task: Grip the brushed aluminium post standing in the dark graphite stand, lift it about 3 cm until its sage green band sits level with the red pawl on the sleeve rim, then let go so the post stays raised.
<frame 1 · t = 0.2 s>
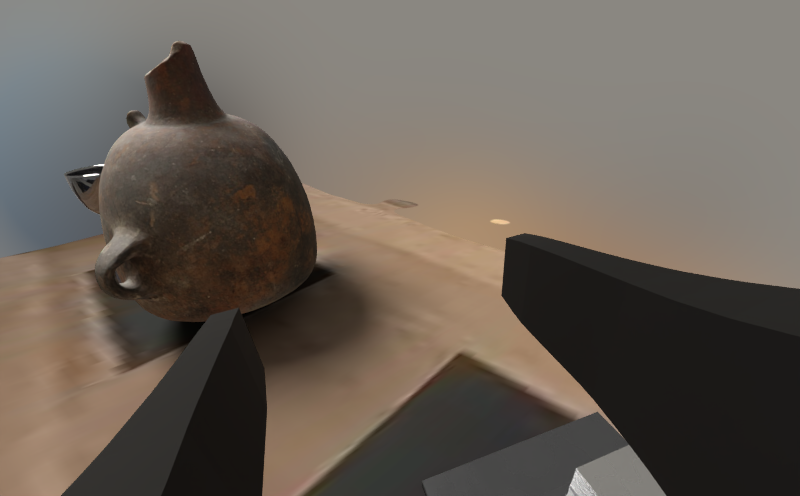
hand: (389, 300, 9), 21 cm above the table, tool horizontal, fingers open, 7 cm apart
jug: (244, 304, 45), on the table
silver goblet: (135, 253, 60), on the table
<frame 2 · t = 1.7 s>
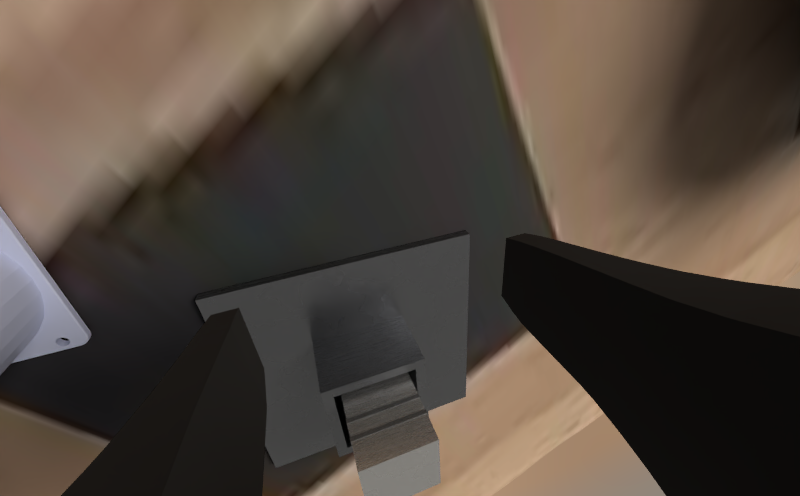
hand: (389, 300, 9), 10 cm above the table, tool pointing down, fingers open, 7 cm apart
column: (380, 409, 20), point 5 cm above the table, slide at 0.0 cm, touching stand
stand: (362, 354, 24), on the table
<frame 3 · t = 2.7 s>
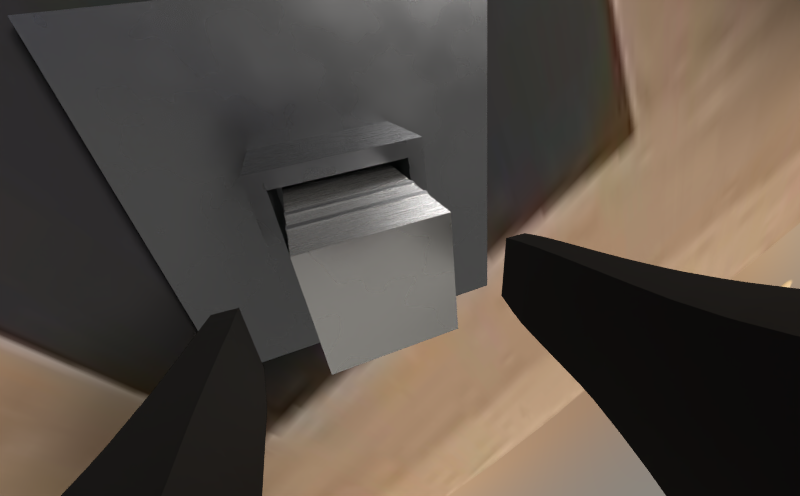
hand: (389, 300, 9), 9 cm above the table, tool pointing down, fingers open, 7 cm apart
column: (355, 236, 12), point 5 cm above the table, slide at 0.0 cm, touching stand
stand: (334, 196, 16), on the table
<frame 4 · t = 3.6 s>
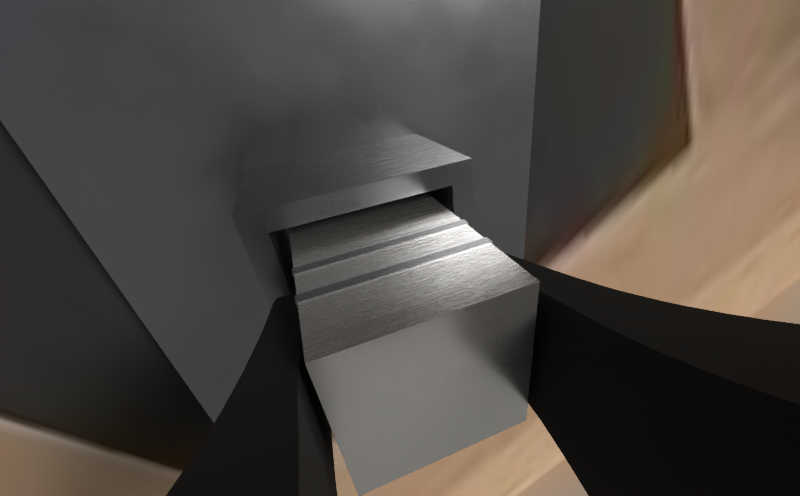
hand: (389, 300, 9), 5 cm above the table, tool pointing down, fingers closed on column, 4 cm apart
column: (381, 284, 10), point 5 cm above the table, slide at 0.0 cm, touching gripper, stand
stand: (349, 222, 13), on the table
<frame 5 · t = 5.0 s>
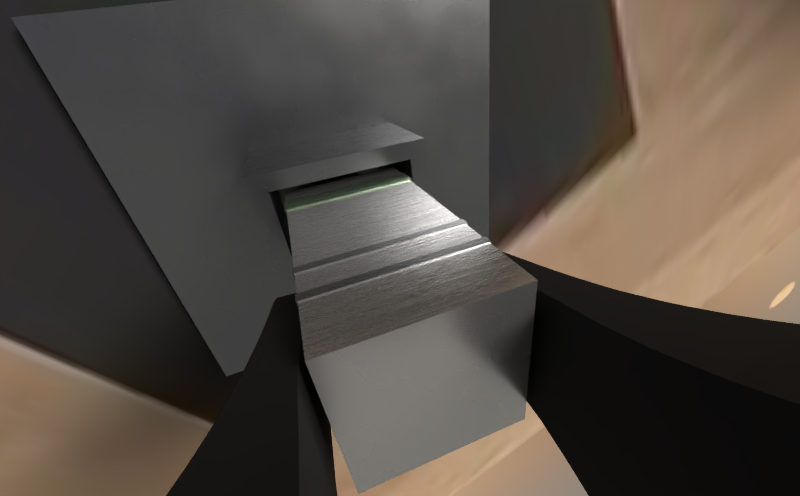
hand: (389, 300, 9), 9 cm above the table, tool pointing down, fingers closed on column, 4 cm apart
column: (381, 283, 10), point 8 cm above the table, slide at 3.1 cm, touching gripper
stand: (336, 197, 16), on the table
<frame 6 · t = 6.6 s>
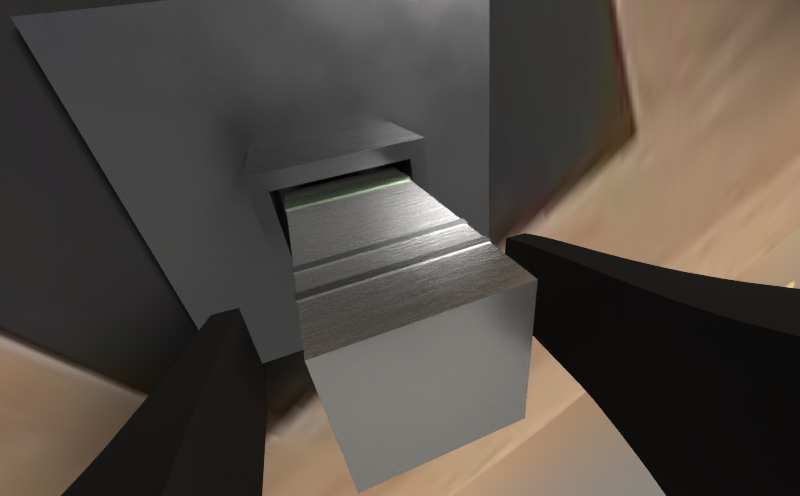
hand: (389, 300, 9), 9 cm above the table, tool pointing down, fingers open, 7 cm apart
column: (380, 283, 10), point 8 cm above the table, slide at 3.1 cm
stand: (336, 197, 16), on the table
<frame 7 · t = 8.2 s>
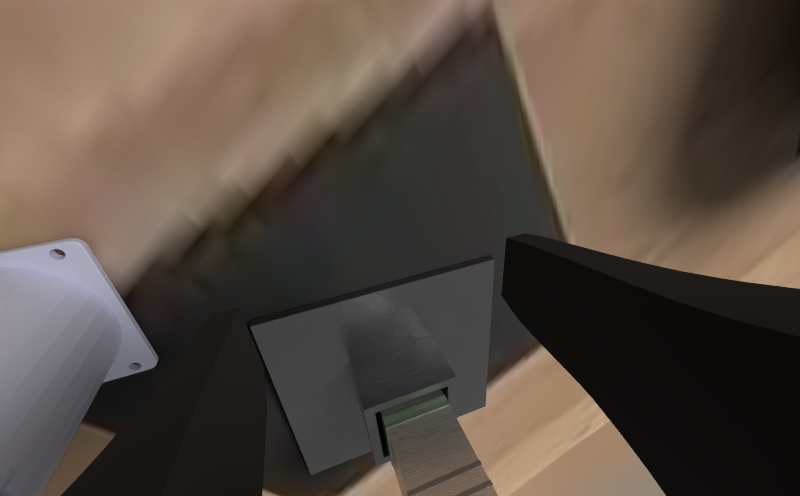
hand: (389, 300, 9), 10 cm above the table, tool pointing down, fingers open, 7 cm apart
column: (435, 471, 19), point 8 cm above the table, slide at 3.1 cm
stand: (393, 369, 26), on the table
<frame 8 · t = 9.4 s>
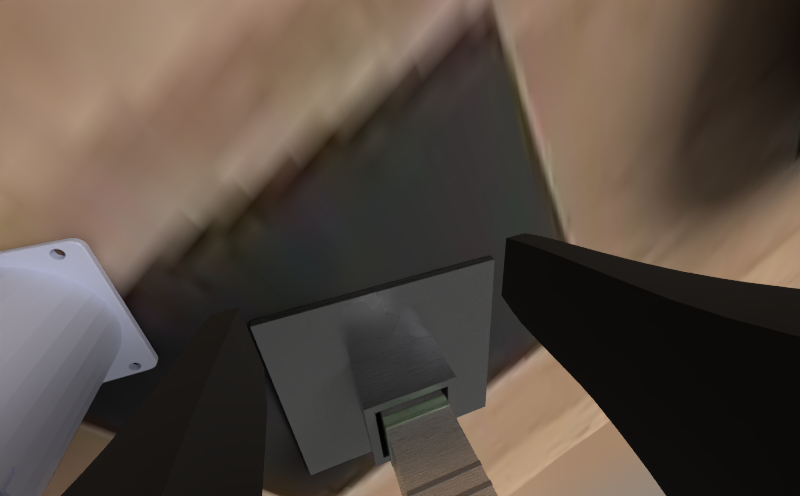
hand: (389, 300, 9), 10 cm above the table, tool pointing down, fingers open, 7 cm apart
column: (434, 471, 19), point 8 cm above the table, slide at 3.1 cm
stand: (392, 369, 26), on the table
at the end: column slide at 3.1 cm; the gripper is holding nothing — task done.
